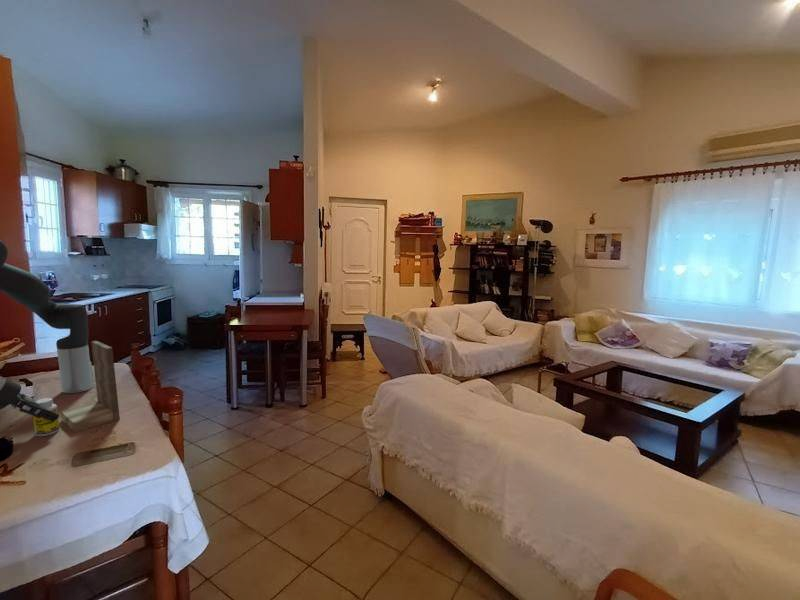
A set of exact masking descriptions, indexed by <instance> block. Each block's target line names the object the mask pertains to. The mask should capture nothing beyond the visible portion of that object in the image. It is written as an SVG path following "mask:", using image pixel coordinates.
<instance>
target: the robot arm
mask: <svg viewBox="0 0 800 600" xmlns="http://www.w3.org/2000/svg"><path fill="white" fill-rule="evenodd" d="M8 253H9V251H8V248H7V245H6V243H4V242H3V241H2V240H1V239H0V292H2V293H3V294H4V295H7V296H8V297H9V298H10V299H12V300H14V301H15V302H17V303H19V304H20V305H22V306H24V307H25V308H27V309H28V310H30V311H31V312H32V313H34V314H35V315H37V316H38V317H39V318H40V320H42V321H43V322H44V323H46V324H47V325H48V326H50V328H52V329H58V330H69V335H67V336H64V337H62V338H59V339H57V341H56V342H55V345H56V346H55V347H56V352H57V353H56V354H57V359H58V367H59V376H60V383H61V384H60V385H61V390H62V393H63V394H68V393H69V394H78V393H82V392H85V391H88V390H91V389H93V387H94V385H95V381H94V373H93V372H94V369H93V365H92V364H93V361H91V359H90V358H91V357H90V350H89V335H90V333H89V317H88V310H87V309H86V307H85V306H84V305H83V304H80V303H79V304H77V303H76V304H75V303H72V304H71V303H70V304H69V303H68V304H67V303H66V304H59V303H56V302H54V301H52V300H51V299H50V295H51V292H50V288H49V286H48V285H47V284H46V283H45V282H44V281H43V280H41V279H40V278H39V277H37V275H35V274H33V273H31V272H29V271H27V270H24V269H22V268H19V267H17V266H14V265H11V264H8V263H6V261H7V258H8ZM21 391H22V386H21V385H20V384H19V383H17V382H14V381H12V380H10V379H8V378H5V377H3V376H1V375H0V410H2V409H3V410H4V409H5V408H7V406H10V407H11V408H12V407H13V408H12V409H14V410H16V411H19V412H21V413H25V414H27V415H30V416H32V417H33V416H35V417H37V418H41V417H42V418H45V419H47V420H50V421H52V422H54V421H55V420H56V419H57V418H58V419H59V417H60V415H59V414H56V413H54V412H51V411H49V410H47V409H46V408H43V407H41V406H40V404H39V403H37V402H35V401H37V399H35V398H33V397H30V396H29V395H27V394H26V393H21ZM37 410H41V411H40V412H39V413H38V414H37V413H35V412H36V411H37Z"/></svg>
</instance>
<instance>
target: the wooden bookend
mask: <svg viewBox="0 0 800 600" xmlns="http://www.w3.org/2000/svg"><path fill="white" fill-rule="evenodd" d="M90 343H91V344H90V345H91V353H92V354H91V355H92V363H93V372H94V378H95V386H96V396H97V397H96V398H97V402H93V403H89V404H86V405H81V406H77V407H73V408H71V409H65V410H63V411H60V413H61V421H62V422H63V423H64V424H65V425H67V427H68V428H69V429H71V430H72V431H73V432H74V433H79V432H82V431H85V430H87V429H92V428H94V426H95V427H97V425H98V426H101V425H104V424H103V423H105V424H107V422H108V423H111V422H117V421H119V419H121V417H120V408H119V400H118V399H119V397H118V389H117V380H116V370H115V361H114V360H115V359H114V350H113V347H112V346H109V345H107V344H105V343H103V342H100V341H98V340H93V341H92V340H91V341H90ZM110 421H111V422H110ZM100 424H101V425H100ZM91 427H92V428H91Z"/></svg>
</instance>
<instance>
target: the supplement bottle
mask: <svg viewBox="0 0 800 600" xmlns="http://www.w3.org/2000/svg"><path fill="white" fill-rule="evenodd" d="M35 402H37V403H39V404H40V406H41V407H43V408H46V409H47V410H49V411H51V412H54V413H56V414H58V405H57V404H56V403H54V401H53V398H51V397H45V398H39V399H38V400H37V399H36V401H35ZM40 411H41V410H37V411H36V412H35V413H37V414H38V413H39V412H40ZM58 415H59V414H58ZM32 421H33V428H34V429H33V430H34V435H35V436H37V437H46V436H50V435H53V434H56V433H57V432H58V431H59V430H60V423H59V422H60V420H59V417H58V418H57V419H56V420H55V421H54V422H52V421H50V420H47V419H45V418H42V417H41V418H37V417H35V416H32Z"/></svg>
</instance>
